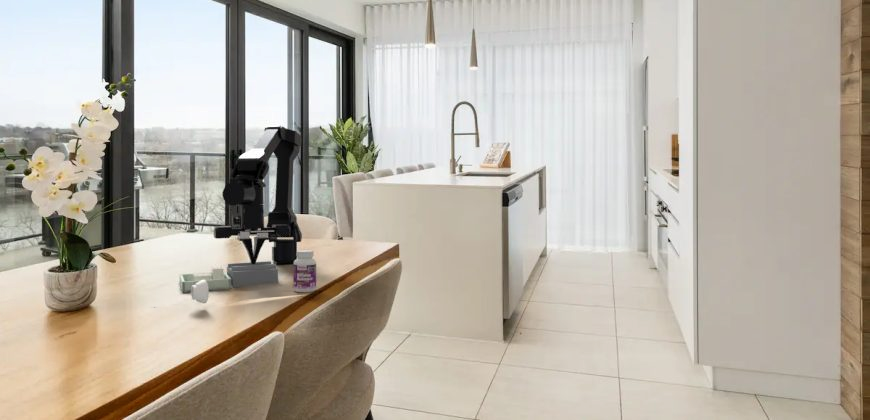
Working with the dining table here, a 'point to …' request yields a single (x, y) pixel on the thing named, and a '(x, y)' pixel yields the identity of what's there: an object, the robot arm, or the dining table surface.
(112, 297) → the dining table surface
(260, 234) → the robot arm
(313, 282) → the pill bottle
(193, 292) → the white flared knob
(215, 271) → the tile
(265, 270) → the bench board
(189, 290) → the tray
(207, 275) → the tile
